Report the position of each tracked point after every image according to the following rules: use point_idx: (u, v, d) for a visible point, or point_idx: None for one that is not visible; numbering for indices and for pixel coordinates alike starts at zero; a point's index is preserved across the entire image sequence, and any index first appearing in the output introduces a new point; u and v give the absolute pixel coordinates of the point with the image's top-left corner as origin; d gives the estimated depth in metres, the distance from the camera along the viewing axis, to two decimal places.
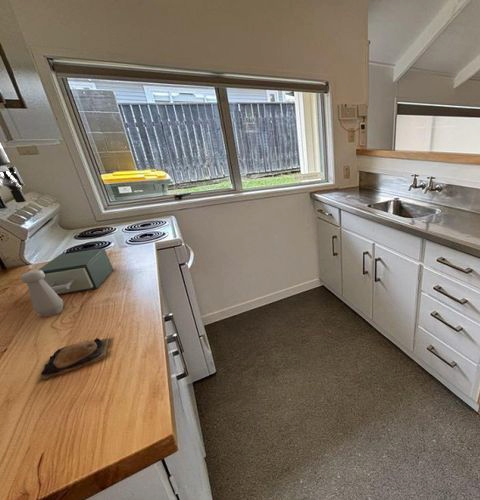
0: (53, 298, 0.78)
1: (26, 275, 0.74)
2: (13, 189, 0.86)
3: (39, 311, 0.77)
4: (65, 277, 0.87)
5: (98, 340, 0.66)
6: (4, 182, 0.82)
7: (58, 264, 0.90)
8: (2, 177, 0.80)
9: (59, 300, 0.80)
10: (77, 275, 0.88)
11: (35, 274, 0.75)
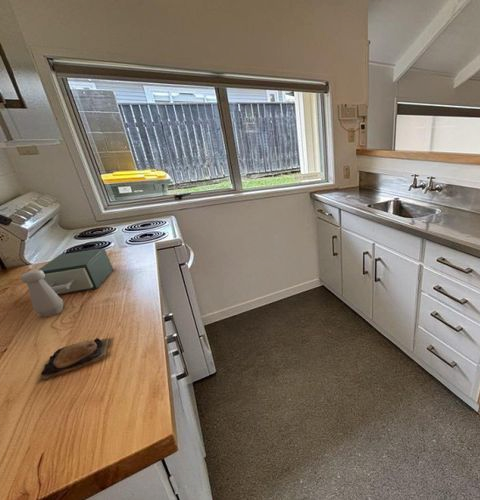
0: (53, 298, 0.78)
1: (26, 275, 0.74)
2: None
3: (39, 311, 0.77)
4: (65, 277, 0.87)
5: (98, 340, 0.66)
6: None
7: (58, 264, 0.90)
8: None
9: (59, 300, 0.80)
10: (77, 275, 0.88)
11: (35, 274, 0.75)
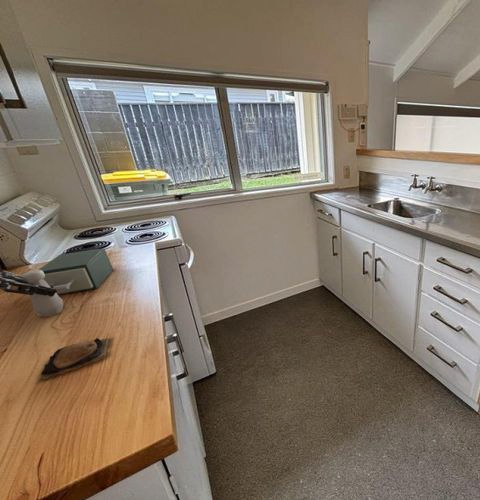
0: (53, 298, 0.78)
1: (26, 275, 0.74)
2: None
3: (39, 311, 0.77)
4: (65, 277, 0.87)
5: (98, 340, 0.66)
6: None
7: (58, 264, 0.90)
8: None
9: (59, 300, 0.80)
10: (77, 275, 0.88)
11: (35, 274, 0.75)
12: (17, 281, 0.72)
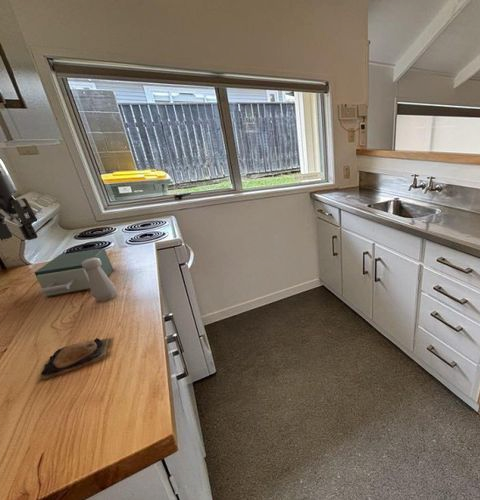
0: (108, 284, 0.85)
1: (86, 262, 0.80)
2: None
3: (96, 296, 0.83)
4: (65, 277, 0.87)
5: (98, 340, 0.66)
6: None
7: (58, 264, 0.90)
8: None
9: (113, 286, 0.86)
10: (77, 275, 0.88)
11: (94, 261, 0.81)
12: None
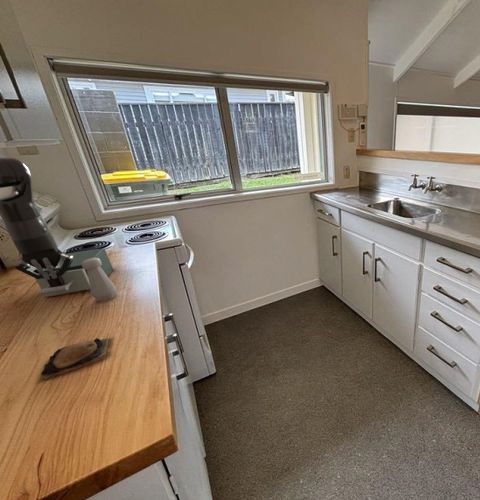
0: (108, 284, 0.85)
1: (87, 262, 0.80)
2: None
3: (96, 296, 0.83)
4: (64, 278, 0.87)
5: (98, 340, 0.66)
6: (43, 266, 0.81)
7: None
8: (36, 263, 0.79)
9: (113, 286, 0.86)
10: (76, 276, 0.88)
11: (94, 261, 0.81)
12: (58, 261, 0.83)
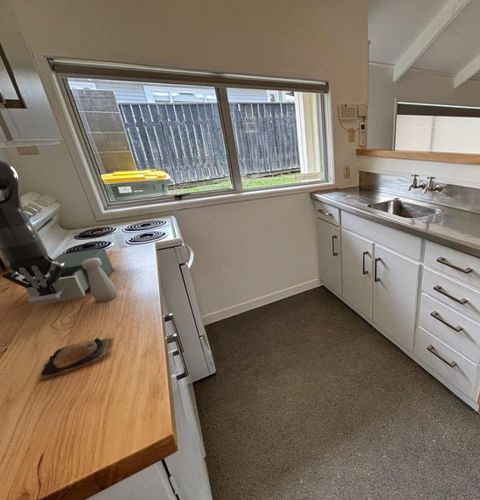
0: (108, 284, 0.85)
1: (87, 262, 0.80)
2: None
3: (96, 296, 0.83)
4: (55, 286, 0.82)
5: (98, 340, 0.66)
6: (33, 275, 0.76)
7: None
8: (25, 271, 0.75)
9: (113, 286, 0.86)
10: (68, 283, 0.83)
11: (94, 261, 0.81)
12: None
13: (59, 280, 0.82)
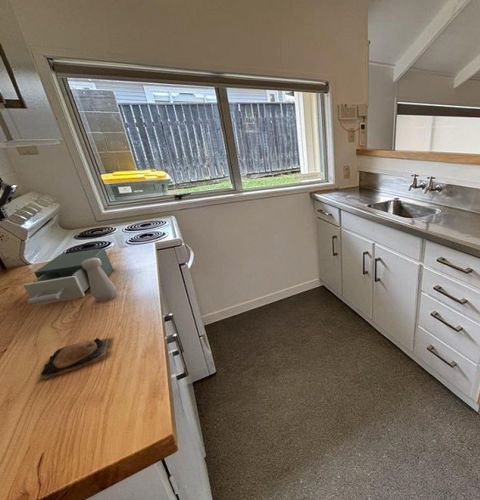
0: (108, 284, 0.85)
1: (87, 262, 0.80)
2: None
3: (96, 296, 0.83)
4: (55, 286, 0.82)
5: (98, 340, 0.66)
6: None
7: (58, 264, 0.90)
8: None
9: (113, 286, 0.86)
10: (67, 283, 0.83)
11: (94, 261, 0.81)
12: None
13: (59, 280, 0.82)
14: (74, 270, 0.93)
